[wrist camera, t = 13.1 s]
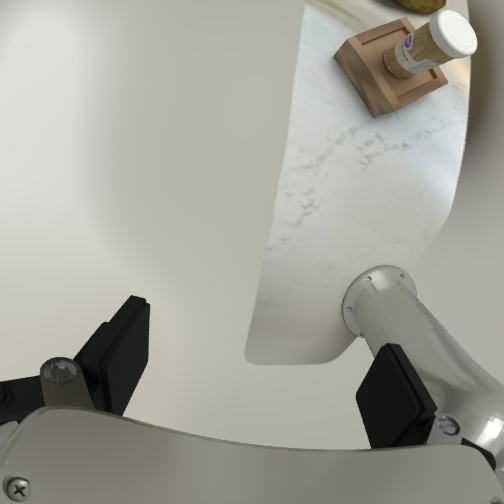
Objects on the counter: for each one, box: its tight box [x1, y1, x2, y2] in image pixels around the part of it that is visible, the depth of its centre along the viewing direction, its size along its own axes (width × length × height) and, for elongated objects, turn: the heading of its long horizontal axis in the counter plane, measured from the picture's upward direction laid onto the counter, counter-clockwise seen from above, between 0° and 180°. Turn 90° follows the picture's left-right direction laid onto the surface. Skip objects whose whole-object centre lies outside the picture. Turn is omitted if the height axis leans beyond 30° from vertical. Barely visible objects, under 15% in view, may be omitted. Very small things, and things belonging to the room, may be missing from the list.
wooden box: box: [334, 17, 448, 117], centre depth 29 cm, size 10×10×7 cm
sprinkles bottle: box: [383, 10, 477, 79], centre depth 21 cm, size 5×5×14 cm
